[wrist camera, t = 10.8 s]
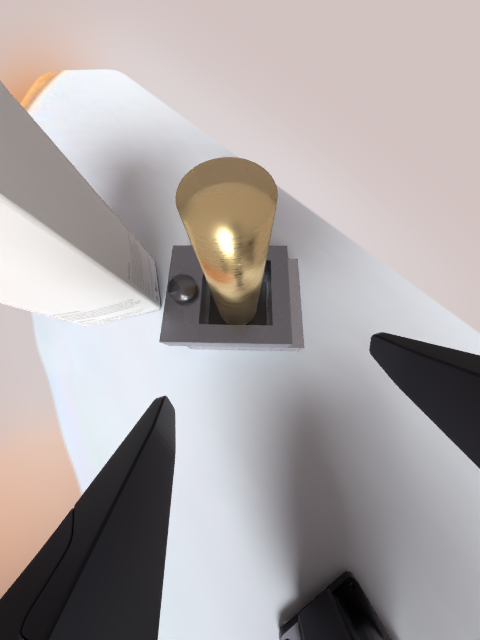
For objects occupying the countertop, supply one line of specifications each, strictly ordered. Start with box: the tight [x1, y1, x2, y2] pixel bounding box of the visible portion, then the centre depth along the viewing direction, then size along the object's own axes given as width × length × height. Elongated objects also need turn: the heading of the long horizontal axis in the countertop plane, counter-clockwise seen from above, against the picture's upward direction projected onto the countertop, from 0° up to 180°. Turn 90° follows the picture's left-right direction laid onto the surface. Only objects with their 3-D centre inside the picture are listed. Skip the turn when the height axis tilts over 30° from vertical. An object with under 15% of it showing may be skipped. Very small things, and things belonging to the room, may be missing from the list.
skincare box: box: [0, 81, 161, 327], centre depth 13 cm, size 8×7×16 cm
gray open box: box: [159, 246, 304, 351], centre depth 18 cm, size 12×9×5 cm
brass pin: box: [176, 157, 278, 325], centre depth 14 cm, size 4×4×13 cm
